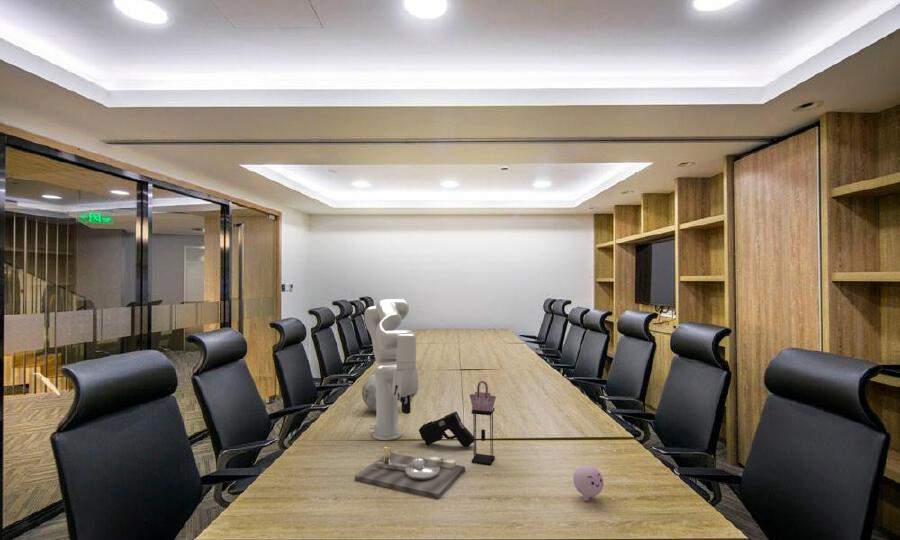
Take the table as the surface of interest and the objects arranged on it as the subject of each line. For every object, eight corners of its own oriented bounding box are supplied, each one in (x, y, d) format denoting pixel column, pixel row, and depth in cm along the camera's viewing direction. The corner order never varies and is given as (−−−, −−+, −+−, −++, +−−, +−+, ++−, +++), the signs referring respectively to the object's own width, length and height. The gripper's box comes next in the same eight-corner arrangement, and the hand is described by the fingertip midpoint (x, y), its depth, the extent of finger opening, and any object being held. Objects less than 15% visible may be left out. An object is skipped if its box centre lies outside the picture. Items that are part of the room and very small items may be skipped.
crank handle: (444, 467, 154) (444, 446, 154) (432, 482, 142) (432, 460, 143) (385, 459, 161) (385, 440, 161) (370, 473, 149) (370, 452, 150)
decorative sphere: (381, 403, 241) (381, 367, 242) (407, 409, 230) (407, 371, 230) (354, 412, 225) (354, 373, 226) (381, 419, 214) (381, 378, 214)
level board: (354, 480, 148) (354, 468, 148) (389, 456, 168) (389, 446, 168) (438, 498, 135) (438, 486, 135) (465, 470, 155) (464, 459, 155)
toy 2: (587, 508, 129) (586, 474, 129) (567, 495, 137) (567, 463, 137) (609, 502, 132) (609, 469, 133) (589, 489, 141) (589, 458, 141)
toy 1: (475, 445, 174) (459, 410, 176) (432, 463, 177) (417, 429, 179) (477, 440, 179) (462, 407, 181) (435, 458, 182) (420, 424, 184)
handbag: (498, 458, 166) (498, 379, 166) (494, 466, 159) (493, 384, 159) (472, 454, 169) (472, 378, 170) (467, 462, 162) (466, 382, 163)
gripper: (412, 360, 174) (412, 406, 174) (385, 367, 162) (384, 415, 162) (426, 363, 169) (426, 410, 169) (398, 370, 157) (398, 420, 157)
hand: (406, 412), depth 166 cm, fingers closed
